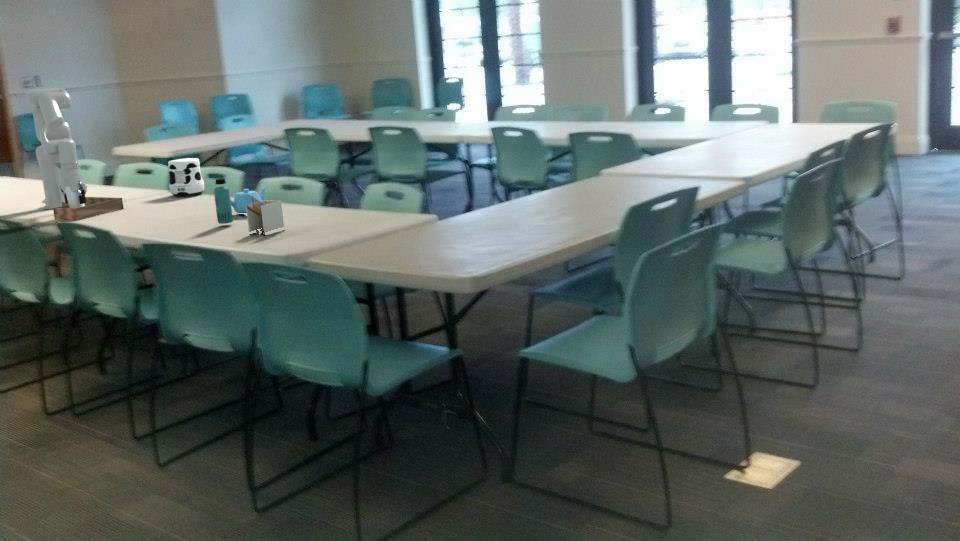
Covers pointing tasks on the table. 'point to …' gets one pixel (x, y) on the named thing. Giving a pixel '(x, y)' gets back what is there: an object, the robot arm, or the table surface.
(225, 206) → the beverage bottle
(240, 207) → the teapot
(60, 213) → the angular wooden frame
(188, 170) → the milk container
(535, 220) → the table surface
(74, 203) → the white cup
